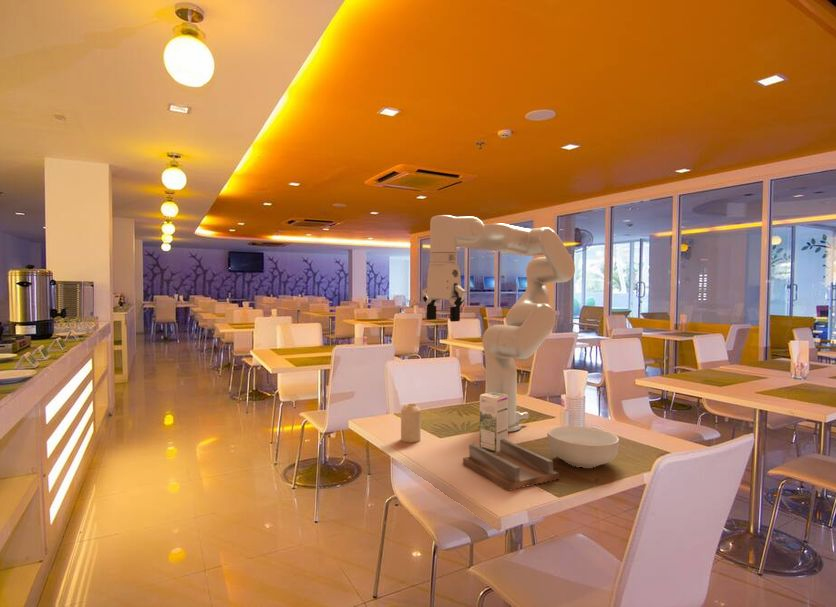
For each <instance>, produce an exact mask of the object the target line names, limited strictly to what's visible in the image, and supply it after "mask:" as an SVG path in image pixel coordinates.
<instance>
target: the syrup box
mask: <svg viewBox="0 0 836 607" xmlns="http://www.w3.org/2000/svg"><path fill="white" fill-rule="evenodd" d="M508 436H509V432H508V395H505V394H499V393H494V392H487V393H482V394H480V395H479V447H481V448H483V449H485V450H487V451H491V452H499V451H500V440H501V439H505V440H507V441H509V437H508Z"/></svg>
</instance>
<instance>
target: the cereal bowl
mask: <svg viewBox="0 0 836 607" xmlns="http://www.w3.org/2000/svg"><path fill="white" fill-rule="evenodd" d="M547 444H548V447H549V449H550V452H551V453H552V454H553V455H555V457H557V458H558V459H561V460H563V461H564V462H565V463H566V464H567V463H568V464H567V465H569V464H570V466H571V465H572V466H571V467H575V466H576V468H579V467H583V468H582V469H593V467H594V468H597V467H598V466H601V465H605V464H607V463H610V462H611V461H613V460H614V459H615V458H616V456H617V454H618V453H619V448H620V439H619V437H618V436H617V435H616V434H614V433H612V432H609V431H607V430H603V429H599V428H593V427H588V426H587V427H585V426H558V427H552V428H549V430H548V431H547ZM596 466H597V467H596Z"/></svg>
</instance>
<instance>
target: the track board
mask: <svg viewBox="0 0 836 607" xmlns="http://www.w3.org/2000/svg"><path fill="white" fill-rule="evenodd" d="M468 449H469V453H468V454H469V456H465V457H463V459H462V464H463V465H464V466H465V467H468V468H470V470H472V471H475V472H476V473H478V474H480V475H481V476H483V477H485V478H487V479H489V480H490V481H491V482H493V483H495V484H496V483H497V485H498V486H500V487H501V486H502V487H501V488H503V487H504V488H503V489H505V488H506V489H508V490H509V491H511V490H510V489H513V490H515V489H514V488H518V489H520V488H519V487H522V488H524V487H523V486H527V485H532V484H536V485H539V484H538V483H541V484H544V483H543V482H545V483H548V482H547V481H550V482H553V481H552V480H554V481H557V480H556V479H559V480H560V472H558V471H556V470H554V461H553V459H550V458H548V457H546V456H543V455H541V454H538V453H536V452H534V451H532V450H530V449H527V448H525V447H523V446H521V445H518V444H516V443H514V442H513V441H509V440H508V441H507V440H505V439H501V440H500V451H498V452H495V451H491V452H490V450H488V449H484V448H481V447H480V445H477V444H474V443H471V444H469V448H468ZM532 486H533V485H532ZM527 487H528V486H527ZM506 489H505V490H506ZM508 490H507V491H508Z"/></svg>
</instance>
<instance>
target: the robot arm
mask: <svg viewBox="0 0 836 607" xmlns="http://www.w3.org/2000/svg"><path fill="white" fill-rule="evenodd" d="M429 222H430V223H429V224H430V226H429V227H430V228H429V229H430V230H429V232H430V233H429V236H430V237H429V239H430V240H429V241H430V242H429V243H430V244H429V248H430V249H429V250H430V251H429V262H430V263H429V267H428V273H427V279H426V280H427V282H426V287H425V288H423V289H422V290H421V295H422V297H423V298H422V299H423V301H424V306H426V320H428V321H429V320H434V321H435V320H436V319H437V306H436V303H437V302H438V300H439V301H440V300H441V301H449V303H450V305H451V306H450V307H449V321H450V322H451V323H452V322H454V323H455V322H460V321H461V307H462V305H463V303H464V301H465V298H466V296H467V293H468V292H467V291H466V289H464V288H463V287H462V277H461V269H460V266H459V264H458V263H457V260H458V258H459V256H458V253H457V252H458V251H457V250H458V247H459V248H465V249H473V250H482V251H483V250H484V251H490V252H491V251H492V252H501V253H507V254H514V255H518V256H523V257H524V256H527V257H529V256H530V257H531V256H537V257H535V258H532V259H531V260H530V261H529V262H528V264H527V265H526V270H525V271H526V285H527V286H526V290H525V291H524V293H523V294H522V295H521V297H519V299H518V300H517V301H516V302H515V303H514V304H513V306H511V308H510V309H509V310H508V311H507V314H506V316H505V323H506V324H493V325H491V326H489V327H488V328H486V330H485V331H484V333H483V335H482V346H483V353H484V358H485V393H487V392H494V393H499V394H505V395H508V433H510V432H515V431H520V430H521V428H522V423H521V422H520V421H521V420H522V419H528V418H530V415H529V412H528V411H524V412H523V411H522V412H520V411H518V410H517V389H518V388H517V384H518V382H517V379H518V370H517V364H516V362H515V359H518V360H523V359H524V360H525V359H528V358H530V357H532V356H533V355H534V354H535V353H536V351H538V349H539V347H540V346H542V345H543V343H544V341H545V340H546V339H547V338H548V337H549V335H550V334H551V333H552V331H553V330H554V327H555V325H556V312H555V309H553V307H552V306H551V305H549V304H550V301H551V296H550V292H549V287H548V283H553V284H554V283H567V282H569V281H570V280H572V279H573V278H574V276H575V272H576V266H575V262H574V260H573V258H572V256H571V254H570V253H569V251H568V250H567V249H568V248H566V246H565V244H564V242H563V240H562V239H561V238H560V236H559V235H558V234H557V233H556V232H555V231H554V230H553V229H552V228H550V227H548V226H546V227H536V228H535V227H534V228H525V227H520V226H516V225H510V224H507V223H489V224H487V223H486V224H484V223H483V221H482V220H481V219H479V218H478V217H477V216H476V217H475V216H453V215H450V214H441V215H434V216H432V217H431V219H430V221H429ZM538 256H540V257H538Z"/></svg>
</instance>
